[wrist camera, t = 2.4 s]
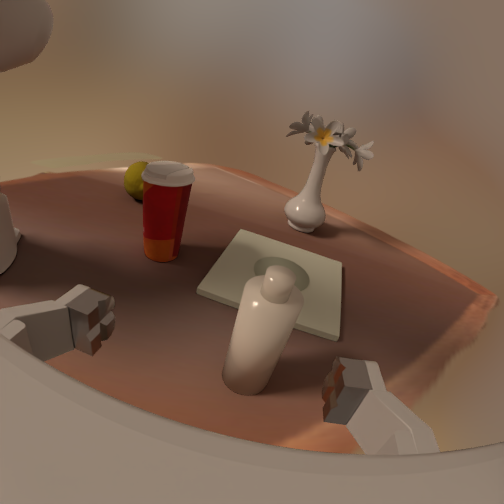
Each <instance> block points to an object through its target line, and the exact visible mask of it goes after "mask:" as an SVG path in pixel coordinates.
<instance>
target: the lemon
mask: <svg viewBox="0 0 504 504" xmlns="http://www.w3.org/2000/svg"><path fill="white" fill-rule="evenodd" d="M147 164H149V163H147V162H137V163H134V164H132V165H131V166H130V167H129V168H128V169H127V171H126V173H125V177H124V186H125V189H126V191H127V193H128V194H129V195H130V196H132V197H133V198H135V199H138V200H143V179H142V177H141V174H142V173H143V171H144V170H145V168H146V165H147Z"/></svg>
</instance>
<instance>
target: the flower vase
mask: <svg viewBox="0 0 504 504" xmlns="http://www.w3.org/2000/svg"><path fill="white" fill-rule="evenodd" d="M312 116H313V114H312V115H311V116H310V117H309V111H307V112H306V113H305V114H304V115H303V118H302V123H303V124H302V123H300V122H294V123H292V124H291V125H290V126H289V127H290V128H291V129H294V131H292V132H290V133H289V134H288V135H287V136H286V137H288V136H290V135H293V134H297V133H303V132H306V133H308V134H306V135H305V136H304V139H305V144H306V145H309V144H312V143H314V142H316V143H315V146H316V149H315V157H314V162H313V166H312V169H311V172H310V175H309V177H308V180H307V182H306V185H305V187H304V188H303V190H302V191H301V192H300V193H299V194H298V195H297V196H295V197H293V198H291V199H290V200H289V201H288V202H287V203H286V205H285V208H284V212H285V215H286V217H287V218H288V224H289V225H290V226H291V227H292V228H293V229H295V230H298V231H301V232H305V233H309V232H312V231H314V229H315V228H317V227H319V226H321V225H322V224H323V223H324V221H325V217H326V215H325V210H324V207H323V205H322V203H321V198H320V192H321V186H322V182H323V179H324V175H325V171H326V168H327V165H328V163H329V161H330V158H331V156H332V155H333V153H334V152H335V151H336V148H335V147H339V149H340V151H341V152H344V154H345V155H346V156H347V158H348V159H349V156H350V157H352V155H351V152H350V150H349V148H348V147H350V148H351V149H353V150H354V151H355V158H354V161H353V165H355V164H356V163H357V166H358V171H361V169H362V166H363V159H362V158H364V159H366V160H369V159H372V158H373V156H374V155H373V153H372V152H371V151H368V150H365V149H369V148H370V147H371V146H372V145H373V143H374V141H371V142H369V143H368V144H366V145H362V146H361V147H359V148H358V146H357V144H356V143H355V142H354V141H352V140H349V139H350V138H352V137H353V136H354V135H355V133H356V129H355V128H348V129H347V130H345V131H344V125H343V124H341V123H340V122H339V121H332V122H330V123H329V124H328V125H327V126H324V125H323V119H322V117H321V116H320V115H318V116H317V117H315V118H313V119H312ZM311 119H312V122H310V121H311ZM310 123H311V124H312V125H313V126H312V125H310ZM296 130H297V131H296ZM348 155H349V156H348ZM361 157H362V158H361Z"/></svg>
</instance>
